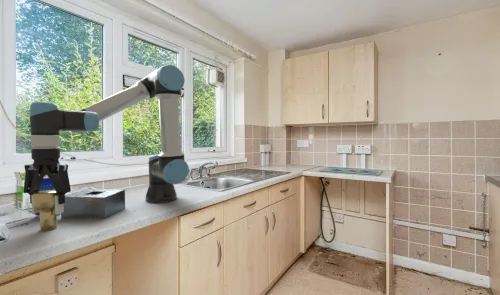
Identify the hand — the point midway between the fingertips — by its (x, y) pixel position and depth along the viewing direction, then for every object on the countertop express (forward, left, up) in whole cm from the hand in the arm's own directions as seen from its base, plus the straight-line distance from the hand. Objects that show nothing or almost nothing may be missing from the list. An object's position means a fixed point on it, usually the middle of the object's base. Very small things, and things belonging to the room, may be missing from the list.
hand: (48, 212), depth 83 cm
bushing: (0, 0, -6) cm, 6 cm away
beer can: (+13, -14, -6) cm, 20 cm away
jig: (-4, -18, -6) cm, 19 cm away
